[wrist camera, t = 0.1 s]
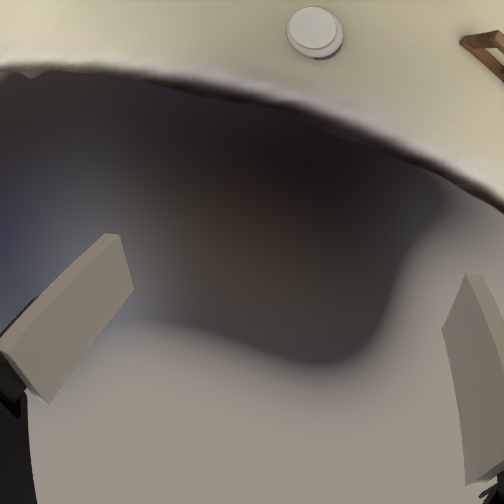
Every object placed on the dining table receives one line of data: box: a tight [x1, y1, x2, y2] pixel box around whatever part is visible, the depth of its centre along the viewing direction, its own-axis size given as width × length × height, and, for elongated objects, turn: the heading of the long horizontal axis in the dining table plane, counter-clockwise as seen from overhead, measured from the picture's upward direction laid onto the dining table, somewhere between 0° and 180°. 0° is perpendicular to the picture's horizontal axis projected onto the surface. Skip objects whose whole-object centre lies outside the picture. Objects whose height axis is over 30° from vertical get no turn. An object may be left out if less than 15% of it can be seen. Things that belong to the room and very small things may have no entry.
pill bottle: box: [287, 7, 344, 60], centre depth 25 cm, size 5×5×9 cm
